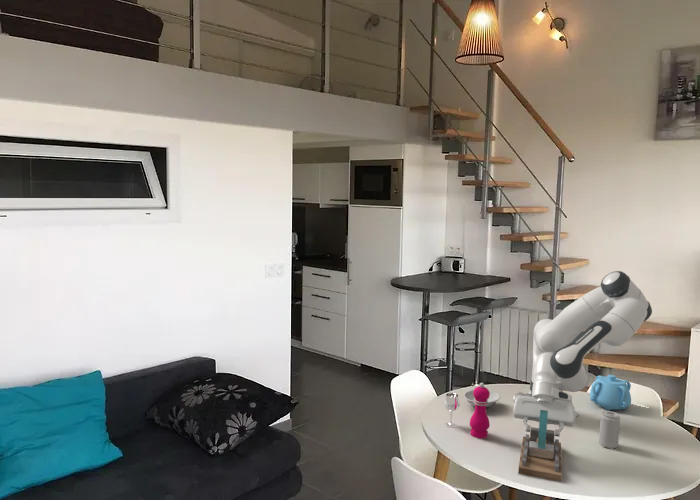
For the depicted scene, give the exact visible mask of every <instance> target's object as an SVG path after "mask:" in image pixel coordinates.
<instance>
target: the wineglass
mask: <svg viewBox="0 0 700 500" xmlns="http://www.w3.org/2000/svg"><path fill="white" fill-rule="evenodd" d="M443 405H444V408H445V410H446V411H448V412H450V413H449V417H450V419H449V422H445V424H444V426H445V427H447V428H453V429H454V428H456V427H457V424H456V423H454V422H452V418H453V412H456V411H458V410H459V408H460V397H459V394H457V393H454V392H449V393H448V392H447V393H446V394H445V397H444V401H443Z"/></svg>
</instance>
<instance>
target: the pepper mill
mask: <svg viewBox="0 0 700 500" xmlns="http://www.w3.org/2000/svg"><path fill="white" fill-rule="evenodd" d="M473 390H474V391H473V396H474V397H475V399H474V403H475V406H474V411H473V413H472V416H471V417H470V419H469V426H470V427H471V428H470V436H471V437H473V438H477V439H487V438H488V436H489V433H488V429H490V419H489V417H488V414H487V407H486V405H487V404H488V400H487V399H488V398H489V396H490V393H489V390H490V389H489V388H487V387H485V383H484V382H480V383H479V385H478V386H476V387H474V389H473Z"/></svg>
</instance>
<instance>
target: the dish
mask: <svg viewBox="0 0 700 500" xmlns="http://www.w3.org/2000/svg"><path fill="white" fill-rule="evenodd" d="M488 390H489V393H490V396H489V398H488V399H487V400H488V404H487V405H486V408H488V407H492V406H493V405H494V404H496V402H498V401H499V400H500V399H501V394H500V393H498V392H497V391H494V390H490V389H488ZM473 391H474V389H470V390H466V391H465V392H463V395H462V397H463V398H464V399H465V400H466V401H467V402H468V404H470V405H471V406H474V407H475V403H474V399H475V397H474V396H473Z"/></svg>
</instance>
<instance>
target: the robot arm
mask: <svg viewBox="0 0 700 500" xmlns="http://www.w3.org/2000/svg"><path fill="white" fill-rule="evenodd" d="M652 314H653V308H652V306H651V303H650V302H649V301H648V300H647V298H646V296H645V295H644V293H643V292H642V290H641V289H640V288H639V287H638V286H637V285H636V284H635V283H634V282H633V281H632V279H631V277H630V276H629V275H627V274H626V273H625V272H624V271H621V270H615V271H612V272H609V273H608V274H607V275H605V276H604V277H603V278H602V279H601V283H600V286H598V287H596V288H594V289H592V290H590V291H588V292H586V293H584V294H583V295H582V296H580V297H579V298H577V299H576V300H575V301H573V302H571V303H570V304H568V305H567V306H566V307H564V308H563V310H561V312H559V314H558V315H557V316H555V317H554V318H553V319H550V318H544V319H540V320H539V321H538V322H537V323H536V324H535V325H534V329H533V337H532V338H533V339H532V340H533V341H532V342H533V343H532V344H533V345H532V371H531V372H532V373H531V380H530V383H529V389H530V390H529V391H528V392H527V393H526V392H517V393H515V394H514V395H513V403H514V405H513V410H512V415H513V417H514V418H515V419H520V420H522V423H523V424H524V427H525V432H527V433H530V432H531V425H529V424H528V421H532V422H538V423H539V421H540V410H545V411H548V416H547V424H551V425H558V427H559V428H557V429H554V431H555V435H554V437H560V435H561V432H562V430H564V427H570V428H571V427H574V426H575V425H576V418H577V417H578V416H579V413H578V411H576V410H575V407H574V404H573V397H572V395H571V394H570V392H572V393H573V392H574V393H575V392H577V393H578V392H580V391H583V390H584V389H585V388H586V387H587V386H588V383H589V376H588V374H587V370H586V369H585V368H586V367H584V363H583V361H584V359H585V357H586V356H587V355H588V354H589V353H590V352H591V351H592V350H593V349H595V348H596V347H597V346H598V345H599V344H601V343H605V344H607V345H609V346H612V347H620V346H622V345H624V344H626V343H627V342H629V340H630V339H631V338H632V337H633V336H634V334H636V332H637V331H638V330H639V329H640V327H641V326H642V324H643V323H645V322H646V321H647V320H649V319H650V317H651V316H652ZM567 392H569V393H567Z"/></svg>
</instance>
